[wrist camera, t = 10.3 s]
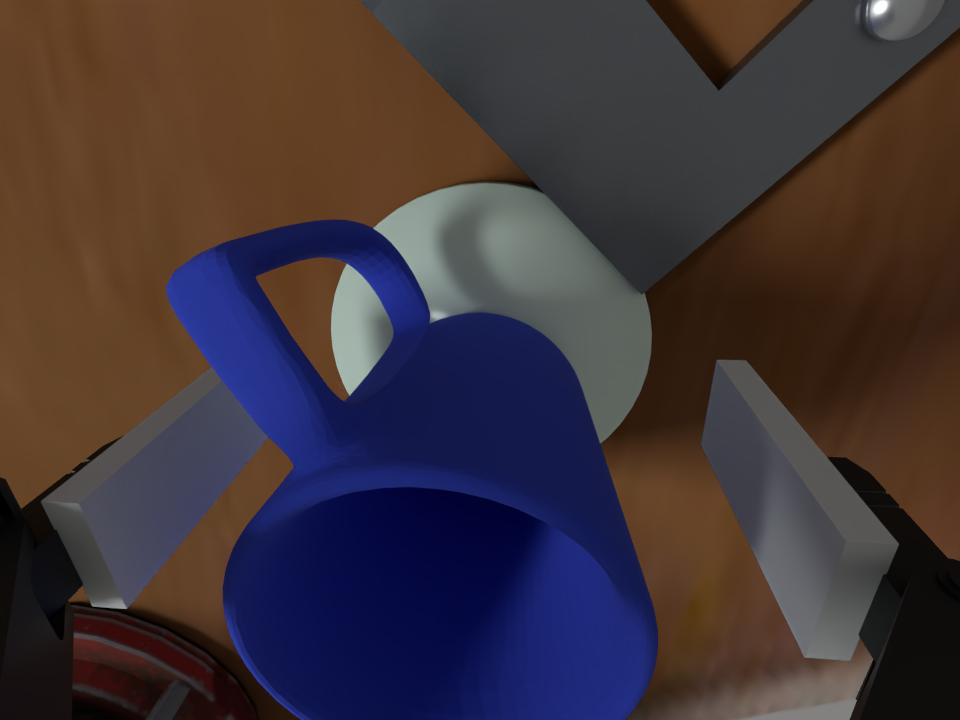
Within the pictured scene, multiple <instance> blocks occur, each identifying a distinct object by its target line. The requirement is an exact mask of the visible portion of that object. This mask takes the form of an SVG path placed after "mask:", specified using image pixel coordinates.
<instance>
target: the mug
mask: <svg viewBox="0 0 960 720" xmlns="http://www.w3.org/2000/svg"><path fill="white" fill-rule="evenodd" d="M317 257H324V258H334V259H338V260H341V261H343V262H345V263H347V264H348V265H350V266H351V267H353V268H354V269H355V270H356V271H357V272H358V273H359V274H361V275H362V276H363V277H364V279H365V280H366V281H367V282H368V283H369V285H370V286H371V287H372V289H373V290H374V291H375V293H376V294H377V296H378V298H379V299H380V301H381V303H382V305H383V307H384V309H385V311H386V312H387V314H388V316H389V318H390V321H391V324H392V327H393V339H392V341H391V343H390V345H389V346H388V348H387V350H386V351H385V352H384V354H383V355H382V356H381V358H380V359H379V360H378V362H377V363H376V364H375V366H374V367H373V368H372V370H371V371H370V372H369V374H368V375H367V376H366V377H365V378H364V379H363V381H362V382H361V383H360V384H359V385H358V386H357V388H356V389H355V390H354V391H353V392H352V394H351V395H350V396H349V397H348V398H347V399H346V400H345V401H343V400H341V399H340V398H338V397H337V396H336V395H335V394H334V393H333V392H332V391H331V390H330V388H329V387H328V386H327V385H326V383H325V382H324V381H323V379H322V378H321V376H320V375H319V374H318V372H317V371H316V370H315V368H314V367H313V365H312V364H311V363H310V361H309V360H308V358H307V357H306V356H305V354H304V353H303V351H302V350H301V349H300V347H299V346H298V345H297V343H296V342H295V340H294V339H293V338H292V336H291V335H290V333H289V331H288V330H287V328H286V327H285V325H284V323H283V322H282V320H281V319H280V317H279V315H278V314H277V312H276V311H275V309H274V307H273V306H272V304H271V303H270V301H269V300H268V298H267V296H266V295H265V293H264V292H263V290H262V288H261V287H260V285H259V284H258V282H257V280H256V277H255V276H258V275H260V274H263V273H265V272H267V271H270V270H272V269H275V268H278V267H281V266H284V265H287V264H290V263H293V262H296V261H300V260H305V259H310V258H317ZM166 290H167V296H168V299H169V302H170V304H171V306H172V308H173V310H174V311H175V313H176V315H177V317H178V318H179V320H180V321H181V323H182V324H183V326H184V327H185V329H186V330H187V331H188V333H189V334H190V336H191V337H192V339H193V340H194V342H195V343H196V345H197V346H198V348H199V349H200V351H201V352H202V353H203V355H204V356H205V358H206V359H207V361H208V362H209V364H210V365H211V367H212V368H213V369H214V371H215V372H216V373H217V375H218V376H219V377H220V379H221V380H222V381H223V382H224V384H225V385H226V386H227V387H228V389H229V390H230V391H231V393H232V394H233V395H234V396H235V398H236V399H237V400H238V401H239V403H240V404H241V405H242V406H243V408H244V409H245V410H246V412H247V413H248V414H249V415H250V417H251V418H252V419H253V420H254V422H255V423H256V424H257V425H258V426H259V428H260V429H261V430H262V431H263V432H264V433H265V434H266V435H267V436H268V437H269V438H270V439H271V440H272V441H273V442H274V443H275V444H276V445H278V446H279V447H280V448H281V450H282V451H283V452H284V453H285V454H286V455H287V456H288V457H289V458H290V460H291V462H292V463H293V465H294V468H293V469H292V471H291V472H290V473H289V474H288V476H287V477H286V478H285V479H284V481H283V482H282V483H281V484H280V486H279V487H278V488H277V489H276V491H275V492H274V493H273V494H272V495H271V497H270V498H269V499H268V500H267V501H266V503H265V504H264V505H263V506H262V508H261V509H260V510H259V511H258V512H257V514H256V515H255V516H254V517H253V518H252V520H251V521H250V522H249V523H248V525H247V526H246V527H245V529H244V531H243V532H242V534H241V535H240V537H239V538H238V540H237V542H236V544H235V546H234V548H233V550H232V553H231V555H230V558H229V561H228V564H227V567H226V571H225V577H224V584H223V606H224V614H225V618H226V622H227V626H228V629H229V633H230V636H231V638H232V641H233V643H234V645H235V647H236V649H237V651H238V653H239V655H240V656H241V658H242V660H243V662H244V663H245V665H246V667H247V668H248V669H249V671H250V672H251V673H252V674H253V676H254V677H255V678H256V680H257V681H258V682H259V683H260V684H261V685H262V686H263V687H264V688H265V689H266V690H267V691H268V692H269V693H270V694H271V696H272V697H273V698H274V699H275V700H276V701H278V702H279V703H280V704H281V705H283V706H284V707H285V708H286V709H287V710H289V711H290V712H291V713H292V714H294V715H295V716H296V717H298V718H299V719H301V720H625V719H626V718H627V717H628V716H629V715H630V713H631V712H632V711H633V710H634V709H635V707H636V706H637V705H638V703H639V702H640V700H641V698H642V697H643V695H644V693H645V692H646V690H647V687H648V685H649V683H650V681H651V678H652V675H653V672H654V668H655V665H656V658H657V650H658V629H657V623H656V617H655V612H654V608H653V604H652V601H651V598H650V595H649V592H648V588H647V585H646V582H645V579H644V576H643V573H642V570H641V567H640V564H639V561H638V558H637V555H636V552H635V549H634V546H633V543H632V540H631V536H630V533H629V530H628V527H627V524H626V521H625V518H624V515H623V512H622V509H621V506H620V503H619V500H618V497H617V494H616V491H615V487H614V484H613V481H612V478H611V475H610V472H609V469H608V466H607V463H606V460H605V457H604V454H603V451H602V448H601V445H600V442H599V439H598V435H597V432H596V429H595V426H594V423H593V420H592V417H591V414H590V411H589V408H588V405H587V402H586V399H585V396H584V393H583V390H582V387H581V384H580V382H579V379H578V377H577V375H576V373H575V371H574V369H573V367H572V366H571V364H570V362H569V361H568V360H567V358H566V357H565V355H564V354H563V353H562V352H561V350H560V349H559V348H558V347H557V346H556V345H555V344H554V343H553V342H552V341H551V340H550V339H548V338H547V337H546V336H545V335H543V334H542V333H541V332H539V331H538V330H536V329H535V328H533V327H531V326H530V325H528V324H525V323H523V322H521V321H519V320H516V319H513V318H511V317H507V316H503V315H499V314H493V313H483V312H476V313H464V314H459V315H453V316H450V317H446V318H443V319H439V320H437V321H434V322H432V323H430V311H429V307H428V304H427V301H426V299H425V296H424V294H423V291H422V289H421V287H420V285H419V283H418V281H417V279H416V277H415V275H414V274H413V272H412V270H411V269H410V267H409V266H408V264H407V262H406V261H405V259H404V258H403V257H402V255H401V254H400V253H399V251H398V250H397V249H396V248H395V247H394V245H393V244H392V243H391V242H390V241H389V240H388V239H387V238H386V237H384V236H383V235H382V234H381V233H379V232H378V231H376V230H375V229H373V228H371V227H369V226H367V225H364V224H361V223H357V222H353V221H348V220H320V221H312V222H306V223H300V224H294V225H289V226H284V227H279V228H276V229H272V230H268V231H264V232H261V233H257V234H253V235H250V236H246V237H242V238H239V239H235V240H231V241H228V242H225V243H222V244H220V245H218V246H215V247H213V248H211V249H209V250H206V251H204V252H202V253H200V254H198V255H197V256H195V257H193V258H192V259H191V260H189V261H188V262H187V263H185V264H184V265H182V266H181V267H180V268H178V269H177V270H175V272H174V273H173V274H172V276H171V278H170V280H169V282H168V284H167V286H166ZM429 323H430V324H429Z"/></svg>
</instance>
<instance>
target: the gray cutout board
mask: <svg viewBox="0 0 960 720" xmlns="http://www.w3.org/2000/svg"><path fill="white" fill-rule="evenodd" d="M360 1H361V3H362V4H363V5H364V6H365V7H366V8H367V9H368V10H369V11H370V12H371V13H372V14H373V15H374V16H375V17H376V18H377V19H378V20H379V21H380V22H381V23H382V24H383V25H384V27H385V28H386V29H387V30H388V31H389V32H390V33H391V34H392V35H393V36H394V37H395V38H396V39H397V40H398V41H399V42H400V43H401V44H402V45H403V46H404V47H405V48H406V49H407V51H408V52H409V53H410V54H411V55H412V56H413V57H414V58H415V59H416V60H417V61H418V62H419V63H420V64H421V65H422V66H423V67H424V68H425V69H426V70H427V71H428V72H429V73H430V75H431V76H432V77H433V78H434V79H435V80H436V81H437V82H438V83H439V84H440V85H441V86H442V87H443V88H444V89H445V90H446V91H447V92H448V93H449V94H450V95H451V96H452V97H453V99H454V100H455V101H456V102H457V103H458V104H459V105H460V106H461V107H462V108H463V109H464V110H465V111H466V112H467V113H468V114H469V115H470V116H471V117H472V118H473V119H474V120H475V121H476V123H477V124H478V125H479V126H480V127H481V128H482V129H483V130H484V131H485V132H486V133H487V134H488V135H489V136H490V137H491V138H492V139H493V140H494V141H495V142H496V143H497V144H498V145H499V147H500V148H501V149H502V150H503V151H504V152H505V153H506V154H507V155H508V156H509V157H510V158H511V159H512V160H513V161H514V162H515V163H516V164H517V165H518V166H519V167H520V168H521V169H522V171H523V172H524V173H525V174H526V175H527V176H528V177H529V178H530V179H531V180H532V181H533V182H534V183H535V184H536V185H537V186H538V187H539V188H540V189H541V190H542V191H543V192H544V193H545V195H546V196H547V197H548V198H549V199H550V200H551V201H552V202H553V203H554V204H555V205H556V206H557V207H558V208H559V209H560V210H561V211H562V212H563V213H564V214H565V215H566V216H567V217H568V219H569V220H570V221H571V222H572V223H573V224H574V225H575V226H576V227H577V228H578V229H579V230H580V231H581V232H582V233H583V234H584V235H585V236H586V237H587V238H588V239H589V240H590V241H591V243H592V244H593V245H594V246H595V247H596V248H597V249H598V250H599V251H600V252H601V253H602V254H603V255H604V256H605V257H606V258H607V259H608V260H609V261H610V262H611V263H612V264H613V265H614V267H615V268H616V269H617V270H618V271H619V272H620V273H621V274H622V275H623V276H624V277H625V278H626V279H627V280H628V281H629V282H630V283H631V284H632V285H633V286H634V287H635V288H636V289H637V291H638V292H639V293H640V294H641V295H642V294H643V293H645V292H646V291H647V290H648V289H649V288H651V287H652V286H653V285H654V284H655V283H657V282H658V281H659V280H660V279H661V278H663V277H664V276H665V275H666V274H667V273H668V272H670V271H671V270H672V269H673V268H674V267H676V266H677V265H678V264H679V263H680V262H682V261H683V260H684V259H685V258H686V257H687V256H689V255H690V254H691V253H692V252H693V251H695V250H696V249H697V248H698V247H699V246H701V245H702V244H703V243H704V242H705V241H707V240H708V239H709V238H710V237H711V236H712V235H714V234H715V233H716V232H717V231H718V230H720V229H721V228H722V227H723V226H724V225H726V224H727V223H728V222H729V221H730V220H731V219H733V218H734V217H735V216H736V215H737V214H739V213H740V212H741V211H742V210H743V209H745V208H746V207H747V206H748V205H749V204H750V203H752V202H753V201H754V200H755V199H756V198H758V197H759V196H760V195H761V194H762V193H764V192H765V191H766V190H767V189H768V188H770V187H771V186H772V185H773V184H774V183H775V182H777V181H778V180H779V179H780V178H781V177H783V176H784V175H785V174H786V173H787V172H789V171H790V170H791V169H792V168H793V167H794V166H796V165H797V164H798V163H799V162H800V161H802V160H803V159H804V158H805V157H806V156H808V155H809V154H810V153H811V152H812V151H814V150H815V149H816V148H817V147H818V146H819V145H821V144H822V143H823V142H824V141H825V140H827V139H828V138H829V137H830V136H831V135H833V134H834V133H835V132H836V131H837V130H838V129H840V128H841V127H842V126H843V125H844V124H846V123H847V122H848V121H849V120H850V119H852V118H853V117H854V116H855V115H856V114H857V113H859V112H860V111H861V110H862V109H863V108H865V107H866V106H867V105H868V104H869V103H871V102H872V101H873V100H874V99H875V98H877V97H878V96H879V95H880V94H881V93H882V92H884V91H885V90H886V89H887V88H888V87H890V86H891V85H892V84H893V83H894V82H896V81H897V80H898V79H899V78H900V77H901V76H903V75H904V74H905V73H906V72H907V71H909V70H910V69H911V68H912V67H913V66H915V65H916V64H917V63H918V62H919V61H921V60H922V59H923V58H924V57H925V56H926V55H928V54H929V53H930V52H931V51H932V50H934V49H935V48H936V47H937V46H938V45H940V44H941V43H942V42H943V41H944V40H945V39H947V38H948V37H949V36H950V35H951V34H953V33H954V32H955V31H956V30H957V29H959V28H960V0H803V1H802V2H801V3H800V4H799V5H798V6H797V7H796V8H795V9H794V10H793V11H792V12H791V13H789V14H788V15H787V16H786V17H785V18H784V19H783V20H782V21H781V22H780V23H779V24H778V25H777V26H776V27H775V28H774V29H773V30H772V31H771V32H770V33H769V34H768V35H767V36H766V37H765V38H764V39H763V40H762V41H760V42H759V43H758V44H757V45H756V46H755V47H754V48H753V49H752V50H751V51H750V52H749V53H748V54H747V55H746V56H745V57H744V58H743V59H742V60H741V61H740V62H739V63H738V64H737V65H736V66H735V67H734V68H733V69H731V70H730V71H729V72H728V73H727V74H726V75H725V76H724V77H723V78H722V79H721V80H720V81H719V82H718V83H717V84H716V85H715V86H714V84H713V83H712V82H711V81H710V79H709V78H708V77H707V76H706V74H705V73H704V72H703V71H702V69H701V68H700V67H699V66H698V64H697V63H696V62H695V61H694V59H693V58H692V57H691V56H690V55H689V53H688V52H687V51H686V50H685V48H684V47H683V46H682V45H681V43H680V42H679V41H678V40H677V38H676V37H675V36H674V35H673V33H672V32H671V31H670V30H669V28H668V27H667V26H666V25H665V23H664V22H663V21H662V20H661V18H660V17H659V16H658V15H657V13H656V12H655V11H654V10H653V8H652V7H651V6H650V5H649V3H648V2H647V1H646V0H360Z"/></svg>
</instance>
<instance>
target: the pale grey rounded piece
mask: <svg viewBox="0 0 960 720" xmlns="http://www.w3.org/2000/svg"><path fill="white" fill-rule="evenodd" d="M373 229H375V230H376V231H378V232H379V233H381V234H382V235H383V236H384V237H386V238H387V239H388V240H389V241H390V242H391V243H392V244H393V245H394V247H395V248H396V249H397V250H398V251H399V253H400V254H401V255H402V257H403V258H404V259H405V261H406V262H407V264H408V266H409V267H410V269H411V270H412V272H413V274H414V275H415V277H416V279H417V281H418V283H419V285H420V287H421V289H422V291H423V294H424V296H425V299H426V301H427V304H428V307H429V311H430V323H432V322H434V321H437V320H439V319H443V318H446V317H450V316H453V315H459V314H464V313H476V312H483V313H493V314H499V315H503V316H507V317H511V318H513V319H516V320H519V321H521V322H523V323H525V324H528V325H530V326H531V327H533V328H535V329H536V330H538V331H539V332H541V333H542V334H543V335H545V336H546V337H547V338H548V339H550V340H551V341H552V342H553V343H554V344H555V345H556V346H557V347H558V348H559V349H560V350H561V352H562V353H563V354H564V355H565V357H566V358H567V360H568V361H569V362H570V364H571V366H572V367H573V369H574V371H575V373H576V375H577V377H578V379H579V382H580V384H581V387H582V390H583V393H584V396H585V399H586V402H587V405H588V408H589V411H590V414H591V417H592V420H593V423H594V426H595V429H596V432H597V435H598V439H599V442H600V444H601V443H602V442H603V441H604V440H605V439H607V438H608V437H609V436H610V435H611V434H612V433H613V431H614V430H615V429H616V428H617V427H618V426H619V425H620V424H621V423H622V421H623V420H624V418H625V417H626V416H627V414H628V413H629V411H630V410H631V409H632V407H633V405H634V403H635V401H636V399H637V397H638V395H639V393H640V392H641V389H642V386H643V383H644V380H645V378H646V375H647V371H648V366H649V361H650V356H651V342H652V330H651V320H650V312H649V308H648V304H647V300H646V296H645V293H643V294H642V295H641V294H640V293H639V292H638V291H637V289H636V288H635V287H634V286H633V285H632V284H631V283H630V282H629V281H628V280H627V279H626V278H625V277H624V276H623V275H622V274H621V273H620V272H619V271H618V270H617V269H616V268H615V267H614V265H613V264H612V263H611V262H610V261H609V260H608V259H607V258H606V257H605V256H604V255H603V254H602V253H601V252H600V251H599V250H598V249H597V248H596V247H595V246H594V245H593V244H592V243H591V241H590V240H589V239H588V238H587V237H586V236H585V235H584V234H583V233H582V232H581V231H580V230H579V229H578V228H577V227H576V226H575V225H574V224H573V223H572V222H571V221H570V220H569V219H568V217H567V216H566V215H565V214H564V213H563V212H562V211H561V210H560V209H559V208H558V207H557V206H556V205H555V204H554V203H553V202H552V201H551V200H550V199H549V198H548V197H547V196H546V195H545V193H544V192H543V191H542V190H540V189H537V188H534V187H531V186H526V185H521V184H515V183H510V182H496V181H479V182H467V183H460V184H456V185H451V186H447V187H443V188H439V189H437V190H434V191H431V192H429V193H426V194H424V195H421V196H419V197H417V198H415V199H414V200H412V201H410V202H408V203H406V204H405V205H403V206H401V207H400V208H398V209H397V210H395V211H394V212H393V213H392V214H390V215H389V216H388V217H386V218H385V219H384V220H382V221H381V222H380V223H378V224H377V225H376V226H375V227H374V228H373ZM430 323H429V324H430ZM331 334H332V345H333V352H334V356H335V360H336V364H337V368H338V371H339V373H340V376H341V379H342V381H343V384H344V386H345V388H346V390H347V392H348V394H349V396H350V395H351V394H352V392H353V391H354V390H355V389H356V388H357V386H358V385H359V384H360V383H361V382H362V381H363V379H364V378H365V377H366V376H367V375H368V374H369V372H370V371H371V370H372V368H373V367H374V366H375V364H376V363H377V362H378V360H379V359H380V358H381V356H382V355H383V354H384V352H385V351H386V350H387V348H388V346H389V345H390V343H391V341H392V339H393V327H392V324H391V321H390V318H389V316H388V314H387V312H386V311H385V309H384V307H383V305H382V303H381V301H380V299H379V298H378V296H377V294H376V293H375V291H374V290H373V289H372V287H371V286H370V285H369V283H368V282H367V281H366V280H365V279H364V277H363V276H362V275H361V274H359V273H358V272H357V271H356V270H355V269H354V268H353V267H351V266H350V265H348V264H347V265H346V267H345V269H344V271H343V272H342V275H341V278H340V281H339V284H338V286H337V289H336V292H335V298H334V303H333V308H332V321H331Z"/></svg>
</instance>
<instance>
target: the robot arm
mask: <svg viewBox="0 0 960 720" xmlns="http://www.w3.org/2000/svg"><path fill="white" fill-rule="evenodd" d="M267 438H268V436H267V435H266V434H265V433H264V432H263V431H262V430H261V429H260V428H259V426H258V425H257V424H256V423H255V422H254V420H253V419H252V418H251V417H250V415H249V414H248V413H247V412H246V410H245V409H244V408H243V406H242V405H241V404H240V403H239V401H238V400H237V399H236V398H235V396H234V395H233V394H232V393H231V391H230V390H229V389H228V387H227V386H226V385H225V384H224V382H223V381H222V380H221V379H220V377H219V376H218V375H217V373H216V372H215V371H214V369H213V368H212V367H211V368H210V369H208V370H207V371H206V372H204V373H203V374H202V375H201V376H199V377H198V378H197V379H196V380H194V381H193V382H192V383H190V384H189V385H188V386H187V387H185V388H184V389H183V390H182V391H180V392H179V393H178V394H177V395H175V396H174V397H173V398H171V399H170V400H169V401H168V402H166V403H165V404H164V405H163V406H161V407H160V408H159V409H157V410H156V411H155V412H154V413H152V414H151V415H150V416H149V417H147V418H146V419H145V420H143V421H142V422H141V423H140V424H138V425H137V426H136V427H135V428H133V429H132V430H131V431H129V432H128V433H127V434H126V435H124V436H122V437H120V438H118V439H116V440H114V441H112V442H110V443H108V444H106V445H104V446H102V447H101V448H100V449H98V450H97V451H96V452H95V453H93V454H92V455H91V456H89V457H88V458H87V459H86V460H85V463H80V464H79V465H78V466H76V467H75V468H74V469H73V470H71V473H70V474H66V475H65V476H64V477H62V478H61V479H60V480H58V481H57V482H56V483H54V484H53V485H52V486H51V487H49V488H48V489H47V490H45V491H44V492H43V493H42V494H40V495H39V496H38V497H36V498H35V499H34V500H32V501H31V502H30V503H29V504H27V505H26V506H25V507H23V508H22V509H21V508H20V506H19V504H18V502H17V500H16V499H15V497H14V495H13V493H12V491H11V489H10V487H9V485H8V483H7V481H6V479H3V478H1V477H0V720H72V684H73V641H74V612H73V609H72V607H71V605H70V603H69V601H68V600H69V599H70V598H71V597H72V596H73V595H74V594H75V593H76V592H77V591H78V589H79V588H80V587H81V586H83V588H84V590H85V592H86V594H87V596H88V599H89V601H90V603H91V605H92V607H105V608H119V609H127V608H128V607H129V606H130V605H131V603H132V602H133V601H134V600H135V599H136V597H137V596H138V595H139V594H140V592H141V591H142V590H143V589H144V588H145V586H146V585H147V584H148V583H149V582H150V580H151V579H152V578H153V577H154V575H155V574H156V573H157V572H158V571H159V569H160V568H161V567H162V566H163V565H164V563H165V562H166V561H167V560H168V558H169V557H170V556H171V555H172V554H173V552H174V551H175V550H176V549H177V548H178V546H179V545H180V544H181V543H182V541H183V540H184V539H185V538H186V537H187V535H188V534H189V533H190V532H191V531H192V529H193V528H194V527H195V526H196V525H197V523H198V522H199V521H200V520H201V518H202V517H203V516H204V515H205V514H206V512H207V511H208V510H209V509H210V508H211V506H212V505H213V504H214V503H215V501H216V500H217V499H218V498H219V497H220V495H221V494H222V493H223V492H224V491H225V489H226V488H227V487H228V486H229V484H230V483H231V482H232V481H233V480H234V478H235V477H236V476H237V475H238V474H239V472H240V471H241V470H242V469H243V467H244V466H245V465H246V464H247V463H248V461H249V460H250V459H251V458H252V457H253V455H254V454H255V453H256V452H257V450H258V449H259V448H260V447H261V446H262V444H263V443H264V442H265V441H266V440H267ZM701 446H702V448H703V450H704V452H705V454H706V456H707V458H708V460H709V462H710V464H711V467H712V469H713V471H714V473H715V475H716V477H717V479H718V481H719V483H720V485H721V487H722V489H723V491H724V493H725V495H726V497H727V499H728V501H729V503H730V506H731V508H732V510H733V512H734V514H735V516H736V518H737V520H738V522H739V524H740V526H741V528H742V530H743V532H744V534H745V536H746V538H747V540H748V542H749V545H750V547H751V549H752V551H753V553H754V555H755V557H756V559H757V561H758V563H759V565H760V567H761V569H762V571H763V573H764V575H765V577H766V579H767V581H768V584H769V586H770V588H771V590H772V592H773V594H774V596H775V598H776V600H777V602H778V604H779V606H780V608H781V610H782V612H783V614H784V616H785V618H786V620H787V623H788V625H789V627H790V629H791V631H792V633H793V635H794V637H795V639H796V641H797V643H798V645H799V647H800V649H801V651H802V653H803V655H804V657H805V658H819V659H833V660H847V661H850V660H851V657H852V655H853V653H854V650H855V648H856V645H857V643H858V641H859V638H861V640H862V641H863V643H864V645H865V646H866V648H867V650H868V651H869V653H870V654H871V656H872V658H873V661H872V664H871V666H870V668H869V670H868V673H867V675H866V677H865V679H864V681H863V684H862V686H861V688H860V690H859V693H858V695H857V697H856V700H857V702H856V705H855V707H854V710H853V712H852V715H851V718H850V720H960V561H957V560H954V559H948V558H947V557H946V556H945V555H944V553H943V552H942V551H941V550H940V549H939V548H938V547H937V546H936V545H935V544H934V543H933V541H932V540H931V539H930V538H929V537H928V536H927V535H926V534H925V533H924V532H923V531H922V529H921V528H920V527H919V526H918V525H917V524H916V523H915V522H914V521H913V520H912V518H911V517H910V516H909V515H908V514H907V513H906V512H905V511H904V510H903V509H901V508H899V504H898V503H897V502H896V501H895V500H894V499H893V498H892V497H891V496H890V494H886V490H885V489H884V488H883V487H882V486H881V485H880V483H879V482H878V481H877V480H876V479H875V478H874V477H873V476H872V475H871V474H870V473H869V472H868V471H866V470H864V469H863V468H861V467H860V466H858V465H857V464H855V463H853V462H852V461H850V460H849V459H847V458H840V457H826V456H825V455H824V453H823V452H822V451H821V450H820V449H819V447H818V446H817V445H816V444H815V443H814V441H813V440H812V439H811V438H810V436H809V435H808V434H807V433H806V432H805V430H804V429H803V428H802V427H801V426H800V424H799V423H798V422H797V421H796V420H795V418H794V417H793V416H792V415H791V414H790V412H789V411H788V410H787V409H786V408H785V406H784V405H783V404H782V403H781V402H780V400H779V399H778V398H777V397H776V396H775V394H774V393H773V392H772V391H771V390H770V388H769V387H768V386H767V385H766V384H765V382H764V381H763V380H762V379H761V378H760V376H759V375H758V374H757V373H756V372H755V370H754V369H753V368H752V367H751V366H750V364H749V363H748V362H747V361H746V360H716V365H715V371H714V376H713V381H712V387H711V392H710V398H709V403H708V409H707V414H706V419H705V425H704V430H703V436H702V441H701Z"/></svg>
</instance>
